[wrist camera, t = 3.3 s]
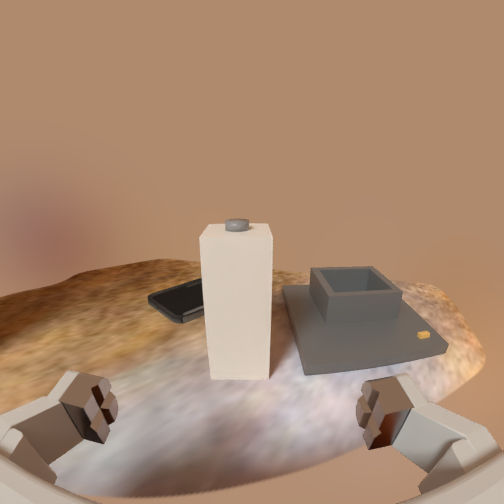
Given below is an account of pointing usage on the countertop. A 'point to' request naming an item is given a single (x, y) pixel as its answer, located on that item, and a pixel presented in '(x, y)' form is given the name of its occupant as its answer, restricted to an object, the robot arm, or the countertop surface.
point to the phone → (180, 301)
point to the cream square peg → (237, 298)
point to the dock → (355, 322)
